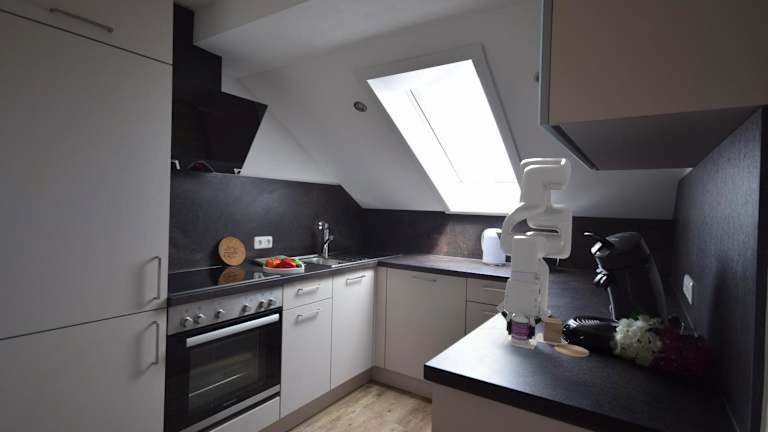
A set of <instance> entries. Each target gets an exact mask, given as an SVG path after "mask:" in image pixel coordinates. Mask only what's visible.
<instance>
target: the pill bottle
mask: <svg viewBox="0 0 768 432" xmlns="http://www.w3.org/2000/svg"><path fill="white" fill-rule="evenodd" d="M530 324H531V322H530V318H529V316H526V315H523V314H513V316H512V329H511V340H512V341H513V342H515V343H518V344H528V343H529V326H530Z"/></svg>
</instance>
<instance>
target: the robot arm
mask: <svg viewBox="0 0 768 432" xmlns="http://www.w3.org/2000/svg"><path fill="white" fill-rule="evenodd" d="M519 172H520V176H521V179H522V181H521V186H520V188H521V189H520V196H519V203H518V205H517V206H516V207H515V208H514V209H512V210H511V211H510V212H509V213H508V214H507V216H506V217H505V219H504V221H503V223H502V226H501V233H500V238H499V239H500V240H499V249H500V250H499V251H501V253H502V254H503V255H505V256H509V257H510V278H508V279H507V282H506V285H505V291H504V300H503V301H502V302H501V303H499V304H498V305H497V306H496V307H495V309H496V310H497V311H498V313H500V314H501V316H502V317H503V318H504V320H505V322H506V328H505V329H506V331H505V332H507V335H511V329H512V317H513V316H514V315H515V314H523V315H526V316H527V317H529V318H530V326H529V339H533V337H536V326H537V325H539V324H540V323H541V322H542V321H544V319H546V318H549V317H550V316H551V315H552V310H550V309H548V296H549V295H548V293H549V292H548V291H549V278H550V277H549V275H550V269H549V266H548V264H547V263H546V261H545V260H544V259H543V258H552V259H566V258H568V257H570V254H571V249H572V234H573V233H572V231H573V230H572V228H573V224H572V223H573V215H572V208H570V206H568V205H565V204H553V203H552V191H561V190H563V191H564V190H565V189H566V188H567V187H568V185H569V182H570V178H571V173H572V165H571V162H570V160H569V159H567V158H565V157H564V158H563V157H561V158H560V157H558V158H557V157H556V158H554V157H553V158H543V157H542V158H539V157H538V158H527V159H524V160H522V161H521V162H520V165H519ZM525 219H526V223H527V225H528V226H529V227H530V228H533V229H542V230H555V231H557V232H547V231H545V232H544V231H543V232H542V231H530V232H526V233H519V232H512V229H513V228H514V226H515V225H516V224H518V223H520V222H521V221H523V220H525Z"/></svg>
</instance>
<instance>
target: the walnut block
mask: <svg viewBox="0 0 768 432" xmlns="http://www.w3.org/2000/svg"><path fill="white" fill-rule="evenodd" d="M542 328H543V329H542V333H543V340H544V341H549V342H556V343H561V340H562V337H563V336H562V335H563V321H562V319H561V318H553V317H547V318H546V319H544V320H543V327H542Z"/></svg>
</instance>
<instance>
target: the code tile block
mask: <svg viewBox="0 0 768 432" xmlns="http://www.w3.org/2000/svg"><path fill="white" fill-rule="evenodd" d="M534 341H538V342H537V343H539V342H540V343H544V344H548V345H554V346H555V345H558V344H568V343H569V341H568V342H566V341H565V340H563V339H562V340H561V343H556V342H549V341H544V340H543V332H538V333H537V334H536V335H535V338H534Z"/></svg>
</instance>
